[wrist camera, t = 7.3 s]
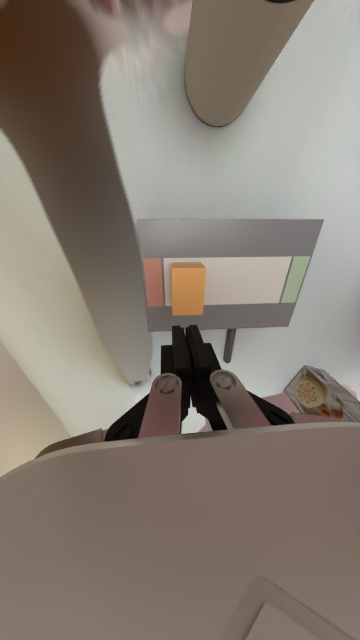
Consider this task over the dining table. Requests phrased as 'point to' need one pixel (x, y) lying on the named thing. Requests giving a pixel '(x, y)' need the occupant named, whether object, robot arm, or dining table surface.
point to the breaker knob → (187, 288)
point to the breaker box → (228, 270)
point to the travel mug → (234, 51)
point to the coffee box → (322, 396)
